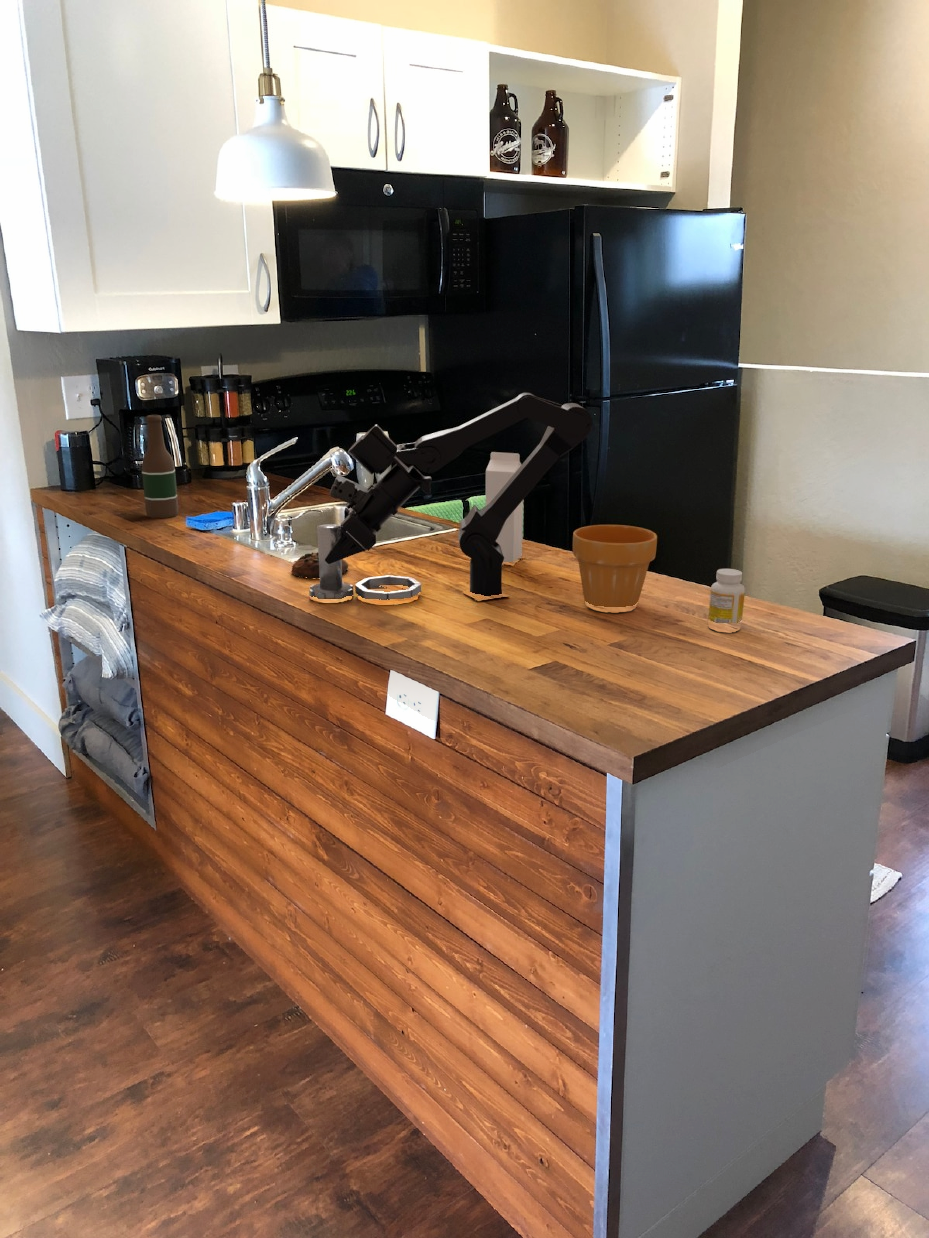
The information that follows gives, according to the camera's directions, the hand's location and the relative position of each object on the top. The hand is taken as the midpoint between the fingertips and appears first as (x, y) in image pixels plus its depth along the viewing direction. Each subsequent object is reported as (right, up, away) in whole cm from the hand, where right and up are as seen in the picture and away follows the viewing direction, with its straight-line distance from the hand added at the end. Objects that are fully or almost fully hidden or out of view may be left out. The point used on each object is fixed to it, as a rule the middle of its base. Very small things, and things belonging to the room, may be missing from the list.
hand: (328, 555), depth 178 cm
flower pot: (+50, -9, -2) cm, 50 cm away
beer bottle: (-49, +14, +68) cm, 85 cm away
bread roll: (-4, -2, +19) cm, 20 cm away
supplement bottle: (+66, -13, -13) cm, 69 cm away
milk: (+32, 0, +27) cm, 42 cm away
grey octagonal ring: (+10, -7, +3) cm, 13 cm away
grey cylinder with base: (0, -7, +2) cm, 8 cm away
